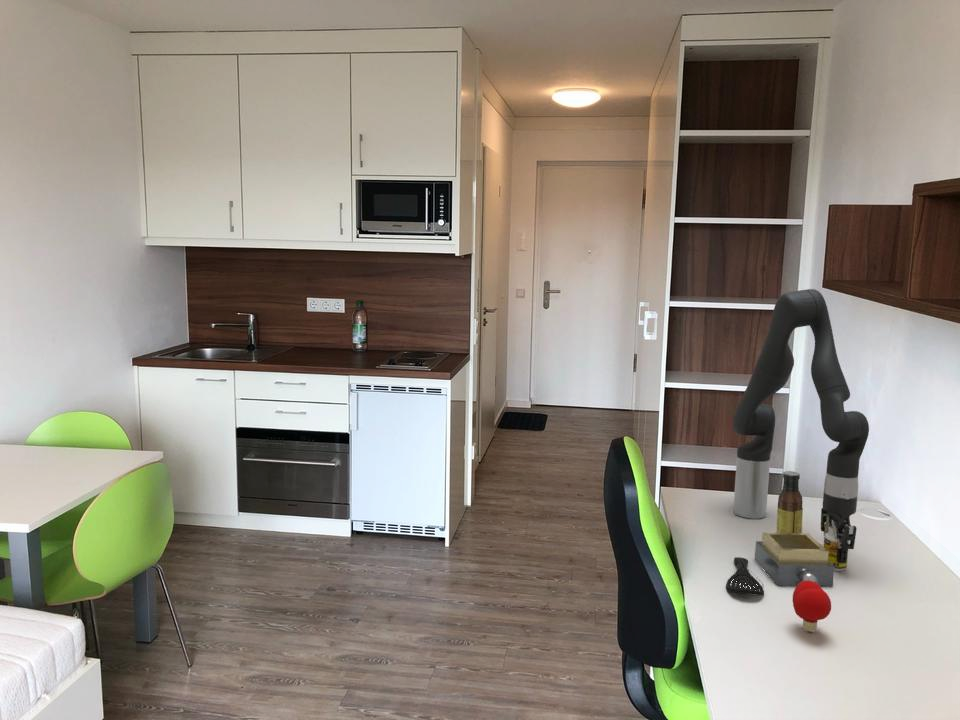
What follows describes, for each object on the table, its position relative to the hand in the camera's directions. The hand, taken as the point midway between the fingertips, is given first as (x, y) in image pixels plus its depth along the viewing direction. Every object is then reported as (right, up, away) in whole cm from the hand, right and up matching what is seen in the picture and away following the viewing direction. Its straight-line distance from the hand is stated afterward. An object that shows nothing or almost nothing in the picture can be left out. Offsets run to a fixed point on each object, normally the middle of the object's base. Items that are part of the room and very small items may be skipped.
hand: (835, 556), depth 189 cm
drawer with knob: (-12, -3, -5) cm, 13 cm away
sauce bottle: (-6, -1, +14) cm, 15 cm away
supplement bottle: (0, -3, 0) cm, 3 cm away
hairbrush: (-25, -4, -7) cm, 27 cm away
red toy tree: (-20, -7, -32) cm, 39 cm away
